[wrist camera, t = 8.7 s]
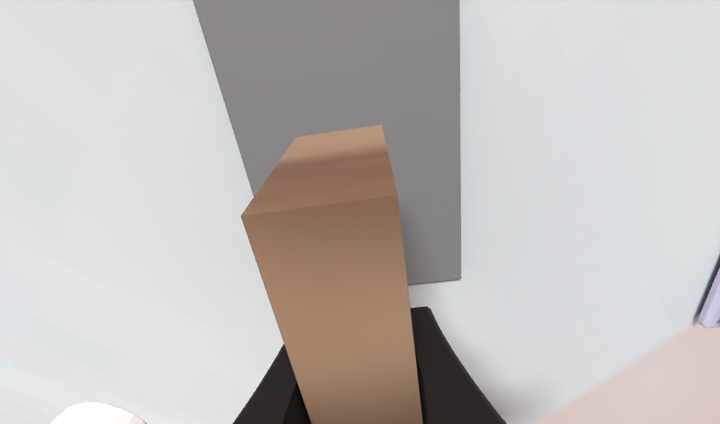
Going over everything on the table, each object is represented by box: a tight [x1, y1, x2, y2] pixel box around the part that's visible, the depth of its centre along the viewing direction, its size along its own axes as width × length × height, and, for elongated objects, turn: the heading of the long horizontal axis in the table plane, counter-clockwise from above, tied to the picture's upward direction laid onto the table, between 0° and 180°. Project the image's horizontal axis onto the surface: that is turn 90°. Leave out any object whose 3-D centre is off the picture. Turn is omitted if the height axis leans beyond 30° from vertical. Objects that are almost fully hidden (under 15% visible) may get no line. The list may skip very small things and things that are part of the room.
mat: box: [193, 0, 461, 285], centre depth 16 cm, size 10×17×1 cm, turn 8°
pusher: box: [241, 124, 423, 424], centre depth 10 cm, size 13×7×5 cm, turn 9°
